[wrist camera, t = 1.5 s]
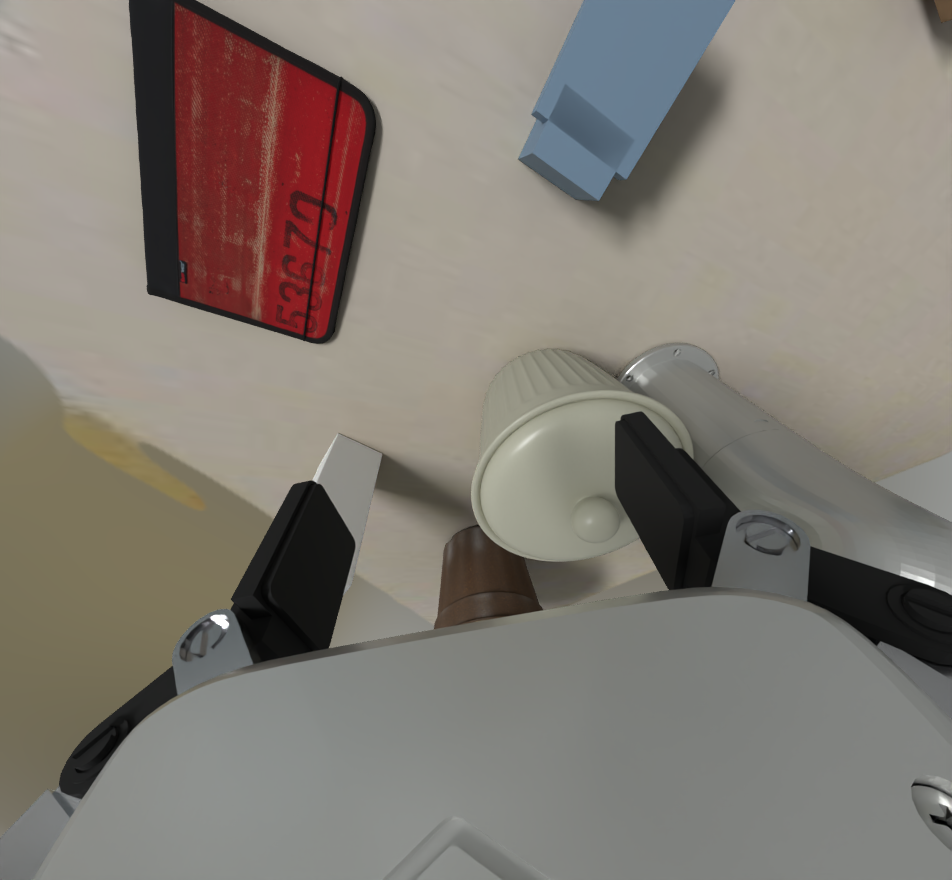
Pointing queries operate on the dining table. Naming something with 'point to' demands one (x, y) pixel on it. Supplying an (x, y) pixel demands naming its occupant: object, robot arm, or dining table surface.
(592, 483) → the canister
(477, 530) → the plant pot
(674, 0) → the block
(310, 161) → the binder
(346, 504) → the milk
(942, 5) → the latch bar
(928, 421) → the dining table surface
